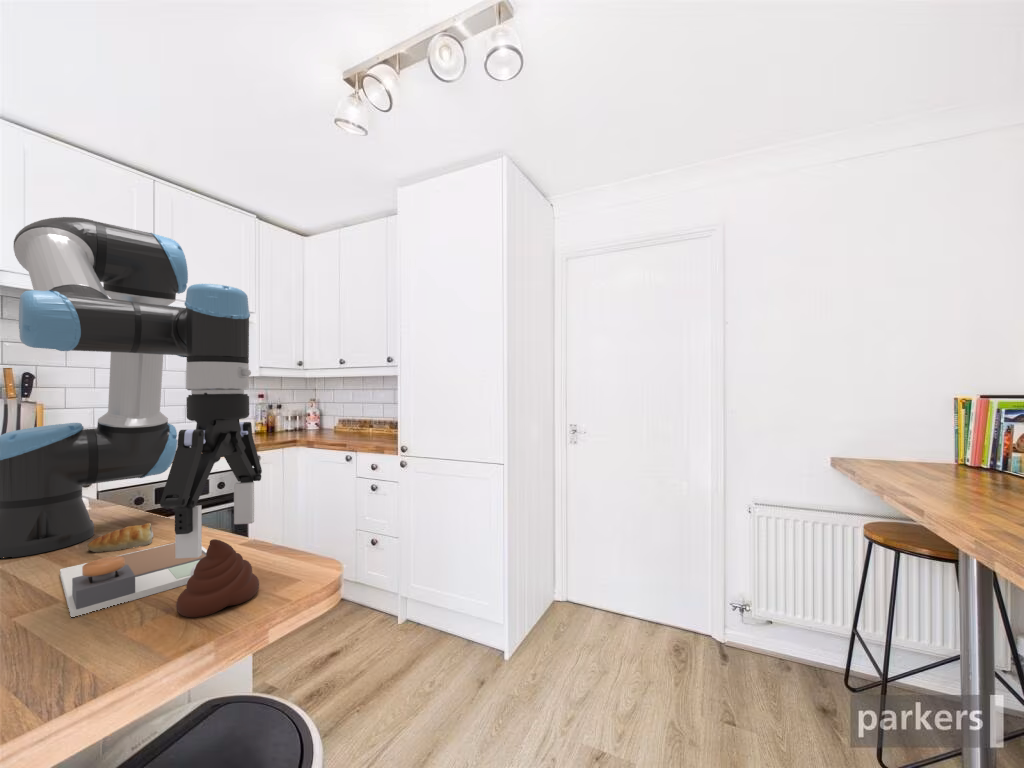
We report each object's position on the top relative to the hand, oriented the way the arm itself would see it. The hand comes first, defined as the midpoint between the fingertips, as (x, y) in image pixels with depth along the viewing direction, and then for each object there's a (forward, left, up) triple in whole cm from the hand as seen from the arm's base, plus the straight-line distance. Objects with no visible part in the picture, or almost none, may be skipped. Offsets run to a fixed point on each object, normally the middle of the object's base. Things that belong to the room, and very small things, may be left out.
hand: (219, 538), depth 61 cm
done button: (-2, -17, -7) cm, 18 cm away
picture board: (-11, -18, -9) cm, 23 cm away
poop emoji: (0, 0, -10) cm, 10 cm away
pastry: (-25, -31, -10) cm, 41 cm away
